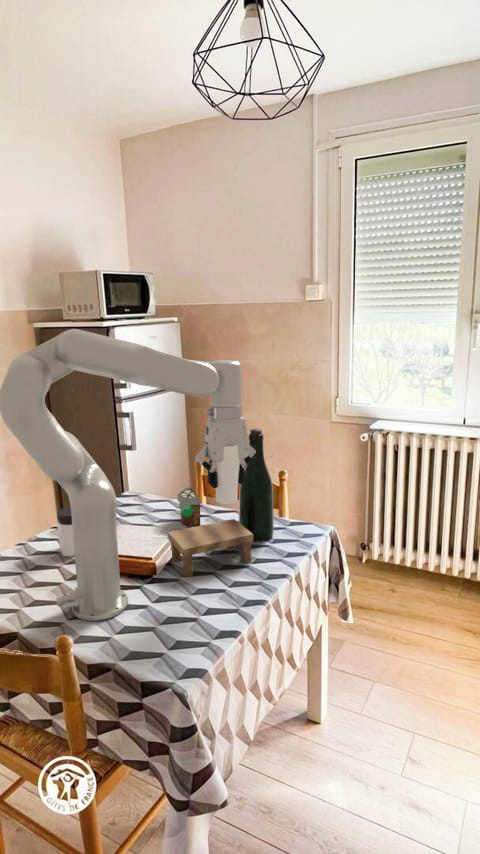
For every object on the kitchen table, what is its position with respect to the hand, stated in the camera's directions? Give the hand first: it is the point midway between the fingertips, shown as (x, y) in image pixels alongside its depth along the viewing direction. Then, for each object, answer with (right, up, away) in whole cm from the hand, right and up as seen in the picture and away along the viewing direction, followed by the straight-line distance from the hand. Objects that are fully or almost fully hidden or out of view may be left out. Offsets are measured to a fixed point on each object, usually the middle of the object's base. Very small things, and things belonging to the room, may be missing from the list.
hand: (226, 483), depth 129 cm
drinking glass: (0, -5, +1) cm, 5 cm away
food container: (-14, -17, +41) cm, 47 cm away
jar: (-44, -22, +22) cm, 54 cm away
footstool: (-5, -23, +15) cm, 28 cm away
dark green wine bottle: (+8, -19, +31) cm, 38 cm away
